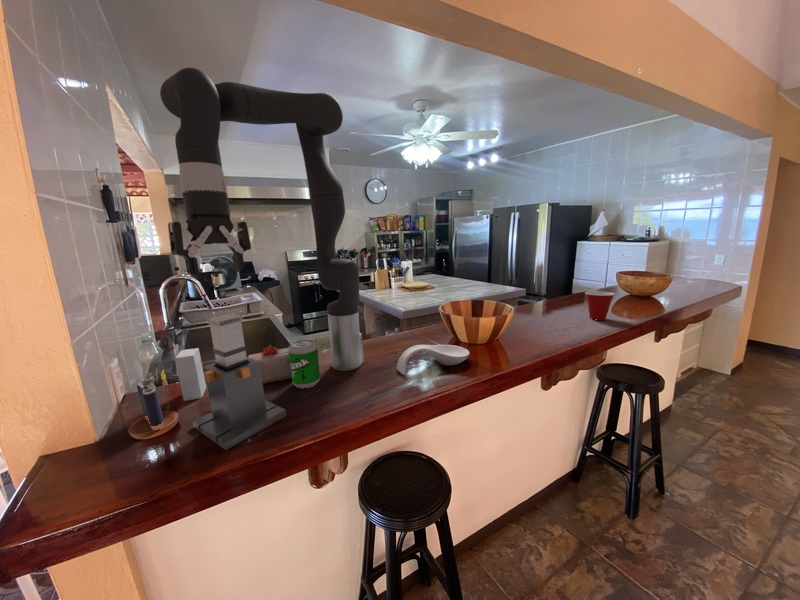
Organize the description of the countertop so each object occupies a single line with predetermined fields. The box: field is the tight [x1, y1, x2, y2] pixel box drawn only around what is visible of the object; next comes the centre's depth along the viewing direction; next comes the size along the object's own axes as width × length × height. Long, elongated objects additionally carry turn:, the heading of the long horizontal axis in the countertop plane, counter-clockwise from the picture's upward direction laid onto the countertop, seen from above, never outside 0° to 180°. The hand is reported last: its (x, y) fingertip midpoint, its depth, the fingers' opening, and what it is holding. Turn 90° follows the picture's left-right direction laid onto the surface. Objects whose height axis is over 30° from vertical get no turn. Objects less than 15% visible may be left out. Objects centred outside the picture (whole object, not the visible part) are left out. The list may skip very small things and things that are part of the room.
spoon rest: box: [396, 344, 470, 376], centre depth 98 cm, size 24×12×7 cm, turn 116°
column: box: [206, 312, 248, 372], centre depth 70 cm, size 5×5×24 cm
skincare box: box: [174, 347, 207, 402], centre depth 84 cm, size 6×4×12 cm
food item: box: [247, 344, 292, 385], centre depth 92 cm, size 14×8×10 cm, turn 114°
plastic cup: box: [585, 291, 616, 321], centre depth 139 cm, size 11×11×12 cm
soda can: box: [287, 339, 321, 390], centre depth 88 cm, size 8×8×12 cm
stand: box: [192, 356, 287, 451], centre depth 71 cm, size 14×14×14 cm
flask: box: [136, 377, 164, 427], centre depth 72 cm, size 9×3×11 cm, turn 48°
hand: (218, 274), depth 65 cm, fingers open, 8 cm apart
